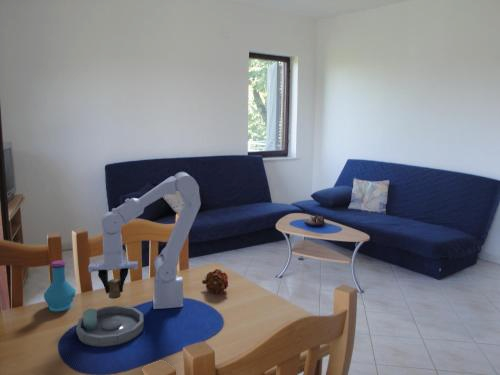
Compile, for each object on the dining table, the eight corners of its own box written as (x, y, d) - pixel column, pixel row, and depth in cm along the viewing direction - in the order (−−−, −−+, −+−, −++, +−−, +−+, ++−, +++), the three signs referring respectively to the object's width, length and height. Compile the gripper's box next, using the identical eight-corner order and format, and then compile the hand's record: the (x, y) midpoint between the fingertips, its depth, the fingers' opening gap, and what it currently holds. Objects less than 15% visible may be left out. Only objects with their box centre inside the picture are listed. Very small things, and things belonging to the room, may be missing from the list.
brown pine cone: (219, 303, 140) (209, 293, 151) (237, 286, 142) (226, 278, 153) (205, 285, 138) (196, 277, 149) (223, 268, 140) (213, 261, 151)
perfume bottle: (64, 314, 125) (61, 268, 123) (37, 311, 127) (35, 265, 125) (82, 301, 134) (80, 258, 132) (57, 298, 136) (54, 256, 134)
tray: (143, 312, 128) (143, 303, 128) (143, 342, 111) (142, 333, 111) (82, 317, 124) (82, 308, 124) (72, 350, 107) (72, 340, 106)
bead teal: (98, 324, 118) (97, 308, 118) (96, 330, 115) (95, 314, 114) (84, 325, 117) (84, 309, 117) (82, 331, 114) (82, 315, 113)
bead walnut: (120, 293, 131) (120, 278, 130) (120, 298, 128) (119, 283, 127) (109, 294, 130) (108, 279, 129) (108, 299, 127) (107, 283, 126)
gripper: (137, 245, 132) (138, 284, 134) (89, 247, 128) (91, 288, 131) (136, 252, 125) (138, 293, 127) (86, 255, 122) (88, 297, 124)
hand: (114, 291), depth 129 cm, fingers closed on bead walnut, 4 cm apart
